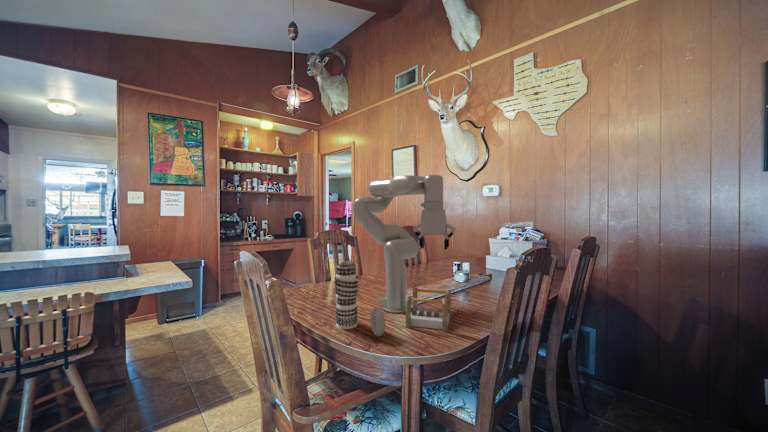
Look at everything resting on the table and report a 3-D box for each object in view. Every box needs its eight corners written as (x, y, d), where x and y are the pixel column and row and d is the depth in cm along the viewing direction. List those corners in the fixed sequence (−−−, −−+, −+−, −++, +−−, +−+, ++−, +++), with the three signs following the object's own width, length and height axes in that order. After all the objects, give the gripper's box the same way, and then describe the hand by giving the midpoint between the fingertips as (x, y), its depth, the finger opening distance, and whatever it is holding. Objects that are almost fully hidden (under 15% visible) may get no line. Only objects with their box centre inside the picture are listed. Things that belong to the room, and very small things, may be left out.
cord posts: (405, 327, 118) (405, 297, 117) (413, 314, 132) (413, 287, 132) (447, 332, 113) (447, 300, 113) (451, 318, 127) (451, 289, 127)
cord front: (409, 300, 117) (409, 298, 117) (409, 300, 118) (409, 297, 118) (443, 303, 114) (443, 301, 114) (443, 303, 115) (443, 300, 114)
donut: (386, 340, 107) (386, 312, 107) (377, 341, 106) (377, 313, 105) (378, 329, 116) (377, 303, 116) (369, 330, 115) (369, 304, 115)
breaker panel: (408, 325, 120) (408, 313, 120) (413, 316, 130) (413, 305, 129) (446, 329, 116) (446, 317, 115) (449, 320, 125) (449, 308, 125)
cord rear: (416, 291, 130) (416, 289, 130) (416, 291, 131) (416, 288, 131) (447, 294, 126) (447, 291, 126) (447, 293, 127) (447, 291, 127)
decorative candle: (342, 319, 127) (341, 259, 126) (362, 322, 124) (361, 260, 123) (330, 327, 119) (329, 263, 118) (351, 330, 115) (350, 265, 114)
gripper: (410, 206, 122) (410, 248, 123) (454, 205, 116) (454, 250, 117) (415, 206, 129) (415, 246, 130) (456, 205, 123) (457, 248, 124)
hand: (433, 248), depth 123 cm, fingers open, 9 cm apart
